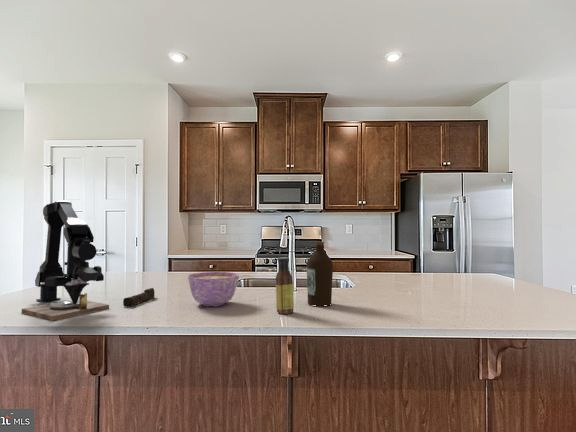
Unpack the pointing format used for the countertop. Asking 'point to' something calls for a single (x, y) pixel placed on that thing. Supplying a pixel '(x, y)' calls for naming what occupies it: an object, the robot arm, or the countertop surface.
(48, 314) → the dial panel
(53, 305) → the dial
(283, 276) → the sauce bottle
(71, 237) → the robot arm
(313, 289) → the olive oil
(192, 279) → the bowl of food
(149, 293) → the hand tool
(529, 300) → the countertop surface
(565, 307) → the countertop surface
